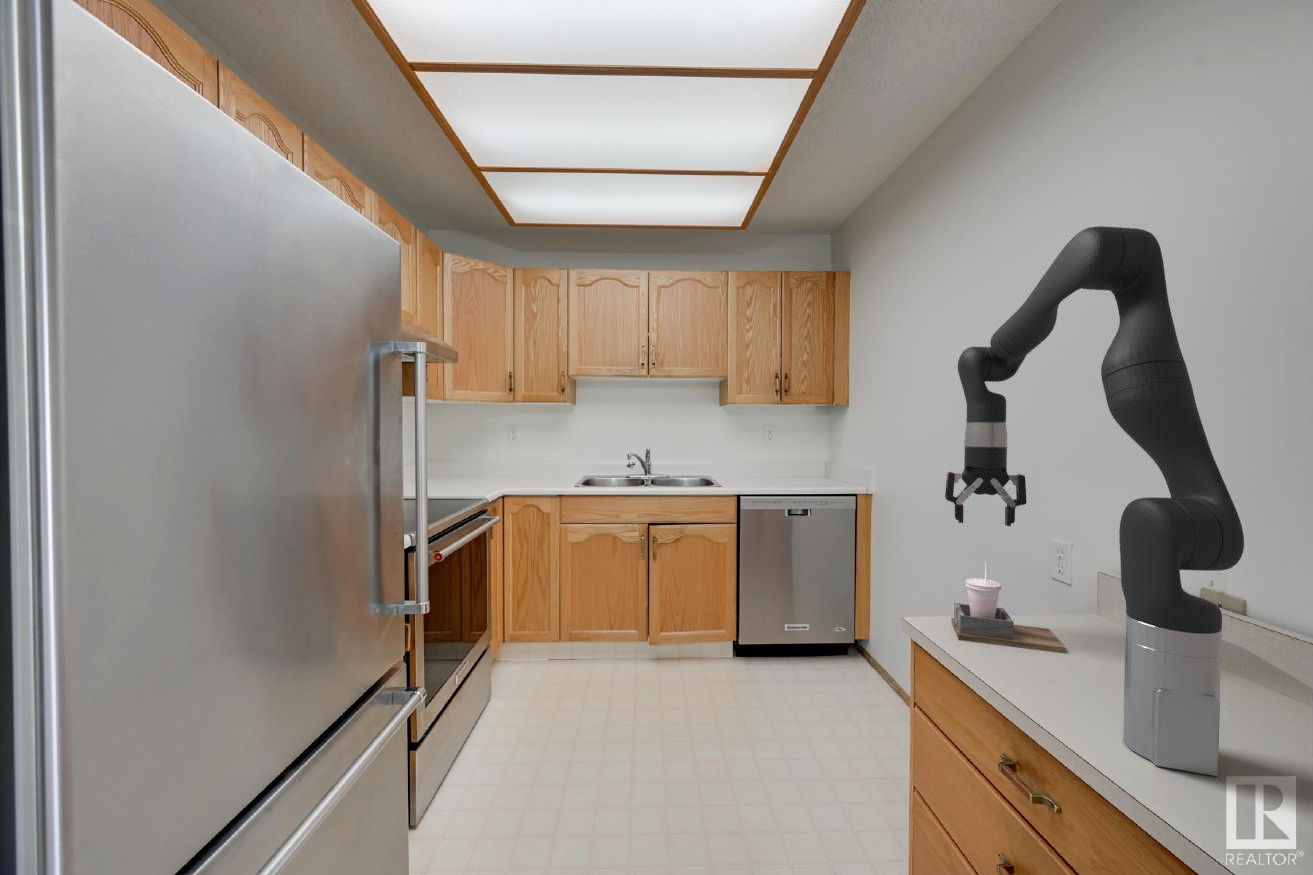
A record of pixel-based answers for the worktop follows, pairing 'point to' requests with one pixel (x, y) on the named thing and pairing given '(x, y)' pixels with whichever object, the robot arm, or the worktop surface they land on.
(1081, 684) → the worktop surface
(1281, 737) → the worktop surface
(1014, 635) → the caddy
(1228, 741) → the worktop surface
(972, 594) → the smoothie
